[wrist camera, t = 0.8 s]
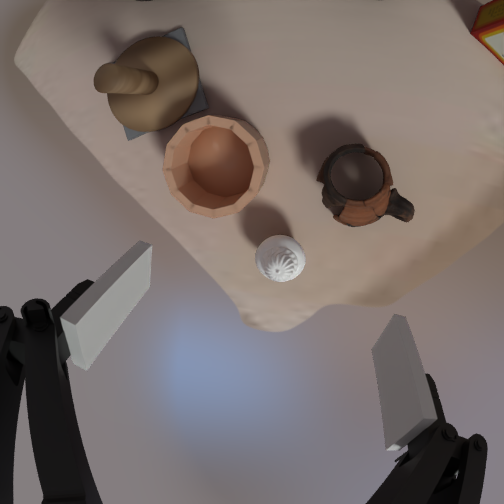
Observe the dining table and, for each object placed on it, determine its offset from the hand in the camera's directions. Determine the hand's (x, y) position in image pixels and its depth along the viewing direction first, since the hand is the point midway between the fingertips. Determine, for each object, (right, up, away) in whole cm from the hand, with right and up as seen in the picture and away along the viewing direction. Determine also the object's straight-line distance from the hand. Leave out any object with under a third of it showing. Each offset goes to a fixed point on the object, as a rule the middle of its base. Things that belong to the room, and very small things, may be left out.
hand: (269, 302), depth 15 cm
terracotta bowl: (-4, +14, +21) cm, 25 cm away
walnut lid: (-14, +24, +17) cm, 32 cm away
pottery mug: (+13, +11, +20) cm, 26 cm away
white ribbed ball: (+3, +3, +25) cm, 25 cm away
